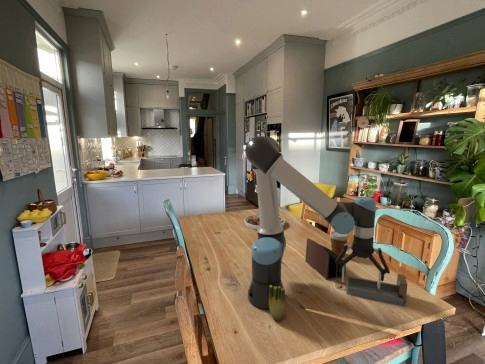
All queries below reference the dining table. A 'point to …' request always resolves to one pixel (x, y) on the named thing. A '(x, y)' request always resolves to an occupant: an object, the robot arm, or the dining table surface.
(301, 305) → the dining table surface
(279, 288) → the fennel bulb
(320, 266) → the letter holder
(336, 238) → the disposable coffee cup
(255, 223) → the bowl
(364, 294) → the channel
